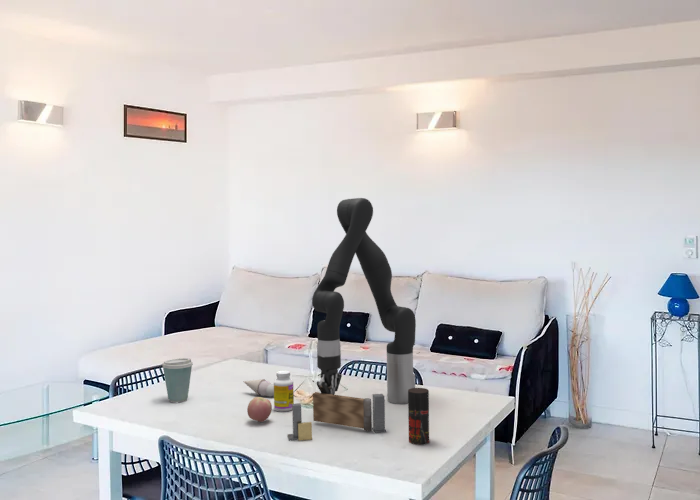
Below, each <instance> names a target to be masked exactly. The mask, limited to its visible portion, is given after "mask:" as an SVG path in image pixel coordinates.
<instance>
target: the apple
mask: <svg viewBox="0 0 700 500" xmlns="http://www.w3.org/2000/svg"><path fill="white" fill-rule="evenodd" d="M246 409H247V416H248V418H249V419H251V420H253V421H256V422H260V423H264V422H265V421H267V420H268V418H269V417H270V415H271V413H272V409H273V406H272V402H271V401H270V399H267V398H266V397H263V396H255V397H253V398H252V399H251V400H250V401H249V402H248V404H247V408H246Z"/></svg>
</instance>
